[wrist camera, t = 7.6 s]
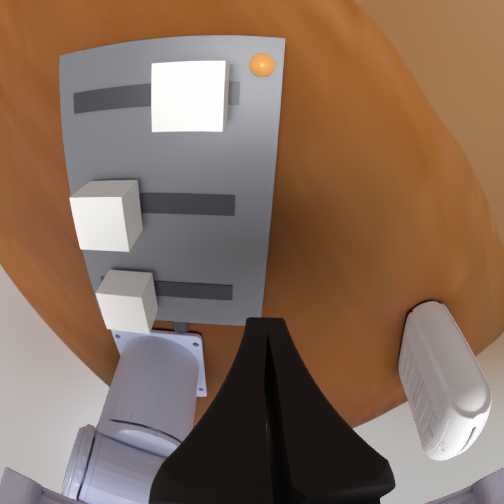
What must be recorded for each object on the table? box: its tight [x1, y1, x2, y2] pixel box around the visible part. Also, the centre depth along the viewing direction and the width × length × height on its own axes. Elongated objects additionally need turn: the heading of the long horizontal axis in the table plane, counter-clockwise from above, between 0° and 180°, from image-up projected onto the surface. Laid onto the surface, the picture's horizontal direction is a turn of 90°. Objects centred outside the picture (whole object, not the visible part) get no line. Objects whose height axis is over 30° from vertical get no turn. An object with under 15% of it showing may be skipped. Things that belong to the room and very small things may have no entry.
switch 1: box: [96, 270, 158, 334], centre depth 18 cm, size 3×3×2 cm
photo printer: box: [398, 301, 492, 460], centre depth 21 cm, size 10×4×12 cm, turn 14°
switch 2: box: [151, 61, 230, 132], centre depth 12 cm, size 3×3×2 cm
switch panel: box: [59, 35, 285, 334], centre depth 18 cm, size 20×12×2 cm, turn 177°
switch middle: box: [70, 180, 143, 252], centre depth 15 cm, size 3×3×2 cm
